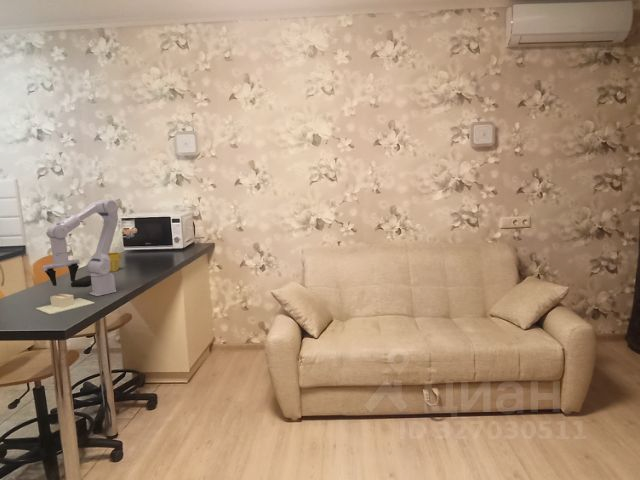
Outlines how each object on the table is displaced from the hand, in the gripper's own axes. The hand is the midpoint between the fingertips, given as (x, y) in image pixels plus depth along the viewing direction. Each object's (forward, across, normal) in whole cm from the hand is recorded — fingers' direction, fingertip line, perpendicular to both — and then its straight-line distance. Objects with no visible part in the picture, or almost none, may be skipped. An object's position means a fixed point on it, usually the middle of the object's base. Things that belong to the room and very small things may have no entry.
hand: (64, 283), depth 202 cm
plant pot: (+9, -46, -46) cm, 66 cm away
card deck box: (+8, +3, +3) cm, 9 cm away
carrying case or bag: (+10, -23, -29) cm, 38 cm away
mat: (+9, +3, +5) cm, 10 cm away
